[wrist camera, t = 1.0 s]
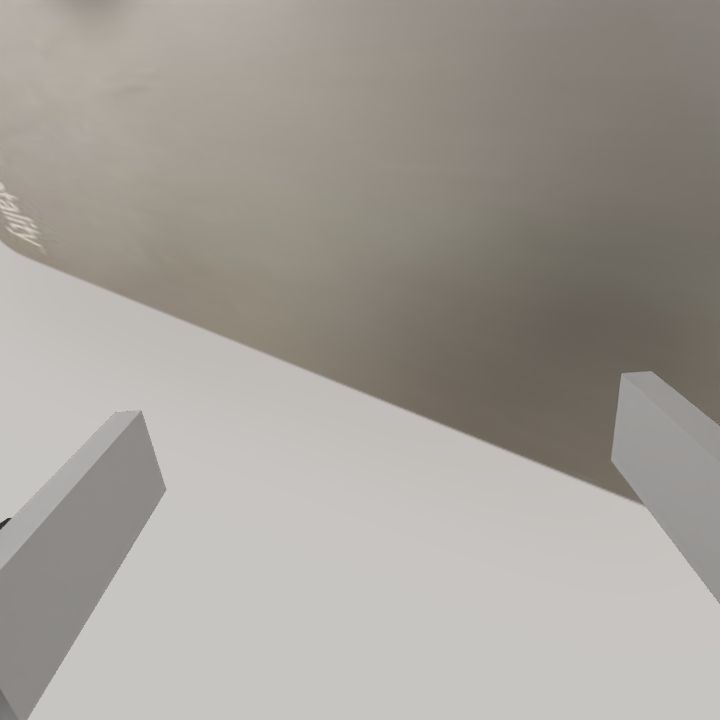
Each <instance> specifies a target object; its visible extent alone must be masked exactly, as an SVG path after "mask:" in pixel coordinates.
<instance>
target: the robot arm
mask: <svg viewBox="0 0 720 720" xmlns="http://www.w3.org/2000/svg"><path fill="white" fill-rule="evenodd" d="M611 461H612V462H613V464H614V465H615V466H616V468H617V469H618V470H619V472H620V473H621V474H622V476H623V477H624V478H625V480H626V481H627V482H628V484H629V485H630V486H631V487H632V489H633V490H634V491H635V493H636V494H637V495H638V497H639V498H640V499H641V501H642V502H643V503H644V505H645V506H646V507H647V509H648V510H649V511H650V512H651V514H652V515H653V516H654V518H655V519H656V520H657V522H658V523H659V524H660V526H661V527H662V528H663V530H664V531H665V532H666V534H667V535H668V536H669V538H670V539H671V540H672V541H673V543H674V544H675V545H676V547H677V548H678V549H679V551H680V552H681V553H682V555H683V556H684V557H685V559H686V560H687V561H688V563H689V564H690V565H691V567H692V568H693V569H694V570H695V572H696V573H697V574H698V576H699V577H700V578H701V580H702V581H703V582H704V584H705V585H706V586H707V588H708V589H709V590H710V592H711V593H712V594H713V595H714V597H715V598H716V599H717V601H718V602H719V603H720V426H719V425H718V424H717V423H715V422H714V421H713V420H712V419H710V418H709V417H708V416H707V415H705V414H704V413H703V412H702V411H700V410H699V409H698V408H697V407H695V406H694V405H693V404H692V403H691V402H689V401H688V400H687V399H686V398H684V397H683V396H682V395H681V394H679V393H678V392H677V391H676V390H674V389H673V388H672V387H671V386H669V385H668V384H667V383H666V382H664V381H663V380H662V379H661V378H659V377H658V376H657V375H656V374H654V373H653V372H652V371H645V372H632V373H621V381H620V390H619V398H618V406H617V414H616V422H615V431H614V439H613V447H612V455H611ZM165 491H166V487H165V484H164V481H163V478H162V475H161V472H160V468H159V465H158V462H157V459H156V456H155V452H154V449H153V446H152V443H151V439H150V436H149V433H148V430H147V427H146V423H145V420H144V417H143V414H142V411H141V410H139V411H127V412H115V413H114V414H113V415H112V416H111V417H110V418H109V419H108V420H107V421H106V422H105V423H104V424H103V425H102V426H101V427H100V428H99V429H98V430H97V431H96V432H95V433H94V434H93V436H92V437H91V438H90V439H89V440H88V441H87V442H86V443H85V444H84V445H83V446H82V447H81V448H80V449H79V450H78V451H77V452H76V453H75V454H74V455H73V456H72V457H71V458H70V459H69V460H68V461H67V462H66V463H65V464H64V465H63V466H62V467H61V468H60V469H59V470H58V471H57V472H56V473H55V475H53V477H52V478H51V479H50V480H49V481H48V482H47V483H46V484H45V485H44V486H43V487H42V488H41V489H40V490H39V491H38V492H37V493H36V494H35V495H34V496H33V497H32V498H31V499H30V500H29V501H28V502H27V503H26V504H25V505H24V506H23V507H22V508H21V509H20V510H19V512H17V513H16V515H14V517H13V518H7V519H6V520H5V521H3V522H2V523H0V720H27V719H28V717H29V716H30V714H31V712H32V711H33V709H34V708H35V705H36V704H37V703H38V701H39V699H40V697H41V696H42V694H43V693H44V691H45V689H46V687H47V686H48V684H49V683H50V681H51V679H52V678H53V676H54V675H55V673H56V671H57V670H58V668H59V666H60V665H61V663H62V661H63V660H64V658H65V656H66V655H67V653H68V651H69V650H70V648H71V646H72V645H73V643H74V641H75V640H76V638H77V637H78V635H79V633H80V632H81V630H82V628H83V627H84V625H85V623H86V622H87V620H88V618H89V617H90V615H91V613H92V612H93V610H94V608H95V607H96V605H97V603H98V602H99V600H100V598H101V597H102V595H103V593H104V592H105V590H106V589H107V587H108V585H109V583H110V582H111V580H112V579H113V577H114V575H115V574H116V572H117V570H118V569H119V567H120V565H121V564H122V562H123V560H124V559H125V557H126V555H127V554H128V552H129V551H130V549H131V547H132V545H133V544H134V542H135V541H136V539H137V537H138V536H139V534H140V532H141V531H142V529H143V527H144V526H145V524H146V523H147V521H148V519H149V518H150V516H151V514H152V512H153V511H154V509H155V507H156V506H157V504H158V503H159V501H160V499H161V498H162V496H163V494H164V493H165Z"/></svg>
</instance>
